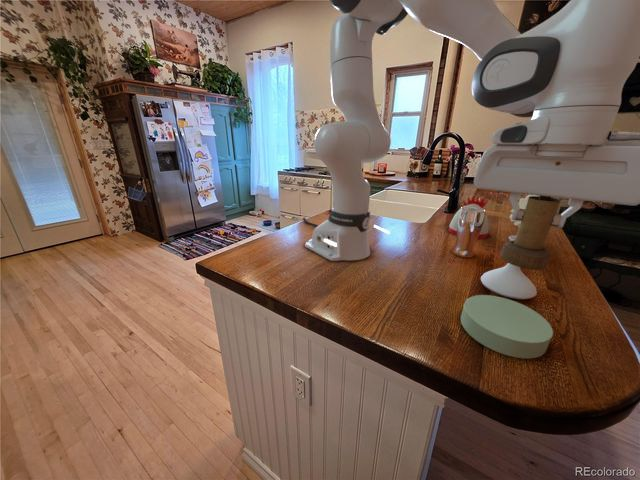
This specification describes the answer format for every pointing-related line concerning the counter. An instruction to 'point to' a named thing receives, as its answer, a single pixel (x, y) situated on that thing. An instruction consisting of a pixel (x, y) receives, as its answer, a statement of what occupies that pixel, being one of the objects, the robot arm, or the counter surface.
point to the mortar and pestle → (532, 234)
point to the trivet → (506, 326)
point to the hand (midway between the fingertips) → (535, 222)
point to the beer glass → (468, 230)
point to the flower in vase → (510, 273)
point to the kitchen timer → (471, 204)
